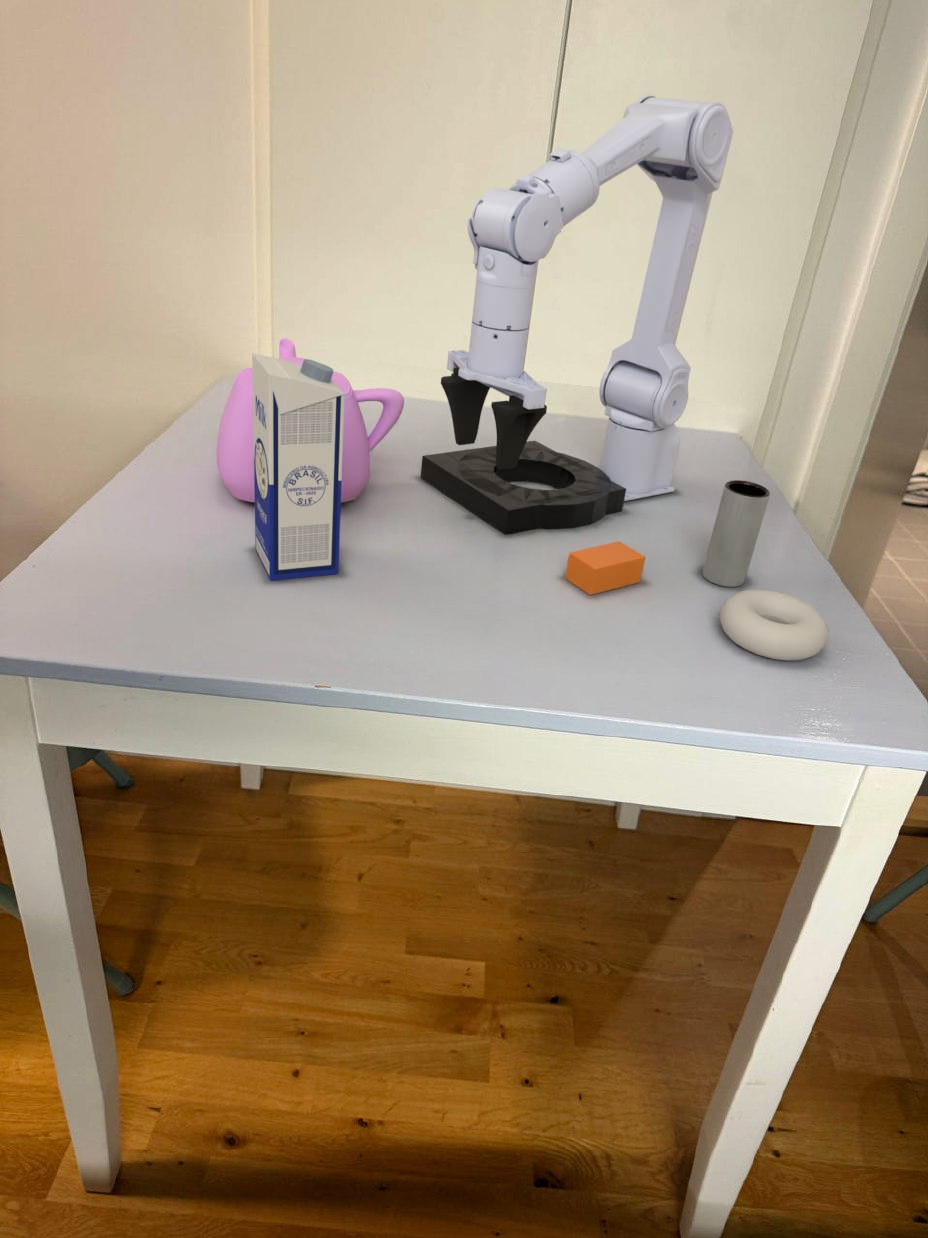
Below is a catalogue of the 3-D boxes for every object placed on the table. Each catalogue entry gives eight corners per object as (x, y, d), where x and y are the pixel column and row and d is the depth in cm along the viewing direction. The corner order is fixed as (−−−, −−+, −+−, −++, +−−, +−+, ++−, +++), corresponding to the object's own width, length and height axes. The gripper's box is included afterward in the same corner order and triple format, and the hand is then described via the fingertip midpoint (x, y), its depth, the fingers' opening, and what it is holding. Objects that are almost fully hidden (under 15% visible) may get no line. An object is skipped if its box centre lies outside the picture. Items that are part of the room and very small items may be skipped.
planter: (745, 574, 98) (771, 485, 92) (742, 591, 94) (769, 500, 89) (703, 564, 99) (727, 476, 94) (699, 581, 95) (723, 490, 90)
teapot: (409, 517, 101) (419, 386, 94) (216, 517, 96) (211, 378, 89) (381, 448, 120) (387, 333, 113) (219, 444, 115) (214, 324, 108)
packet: (614, 566, 96) (619, 540, 95) (640, 582, 93) (646, 556, 92) (564, 578, 92) (569, 552, 91) (590, 595, 90) (595, 568, 88)
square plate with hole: (540, 460, 123) (543, 439, 121) (639, 514, 109) (644, 491, 108) (420, 478, 112) (422, 455, 111) (513, 540, 99) (516, 515, 98)
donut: (796, 616, 91) (701, 609, 89) (806, 586, 89) (711, 579, 87) (840, 671, 82) (736, 665, 81) (852, 639, 80) (747, 632, 79)
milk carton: (254, 549, 91) (251, 350, 81) (319, 543, 93) (324, 350, 84) (270, 581, 85) (269, 372, 75) (339, 574, 88) (346, 371, 78)
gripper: (427, 308, 91) (417, 436, 98) (511, 344, 81) (494, 484, 88) (483, 307, 95) (470, 430, 102) (571, 341, 85) (549, 475, 92)
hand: (485, 455), depth 95 cm, fingers open, 7 cm apart
